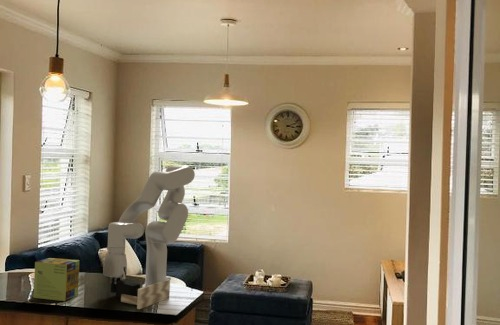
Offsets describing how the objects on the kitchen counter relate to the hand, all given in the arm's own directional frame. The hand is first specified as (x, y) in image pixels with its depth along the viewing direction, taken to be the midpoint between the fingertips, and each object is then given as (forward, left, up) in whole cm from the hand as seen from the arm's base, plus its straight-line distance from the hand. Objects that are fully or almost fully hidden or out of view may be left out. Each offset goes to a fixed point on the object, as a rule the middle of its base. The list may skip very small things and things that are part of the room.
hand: (114, 291), depth 227 cm
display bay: (0, +15, -2) cm, 15 cm away
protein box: (+15, -19, -2) cm, 24 cm away
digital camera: (0, +8, -2) cm, 9 cm away
